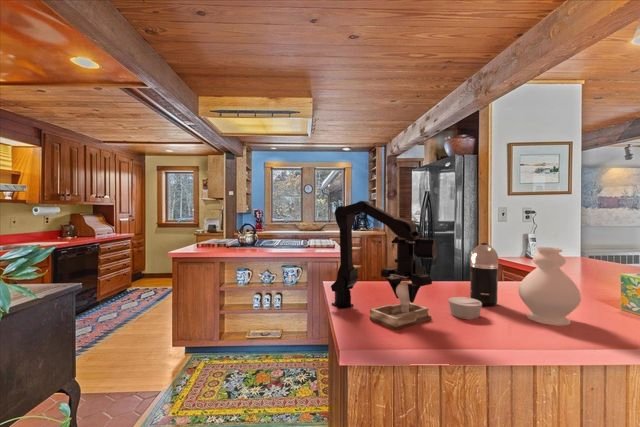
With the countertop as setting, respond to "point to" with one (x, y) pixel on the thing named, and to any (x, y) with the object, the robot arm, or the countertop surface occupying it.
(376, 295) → the countertop surface
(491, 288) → the black copper bottle
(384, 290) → the countertop surface
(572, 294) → the decorative vase
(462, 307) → the ramekin
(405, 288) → the lightbulb
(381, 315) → the wooden tray
